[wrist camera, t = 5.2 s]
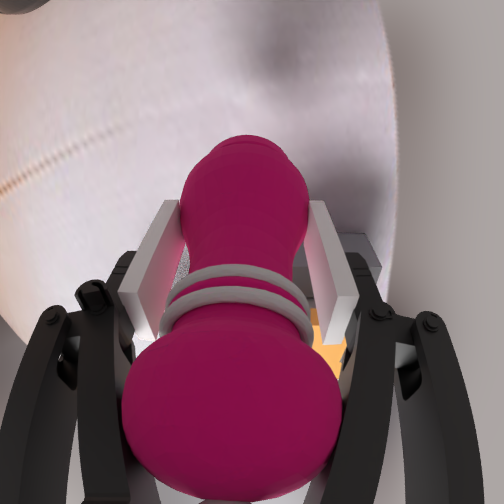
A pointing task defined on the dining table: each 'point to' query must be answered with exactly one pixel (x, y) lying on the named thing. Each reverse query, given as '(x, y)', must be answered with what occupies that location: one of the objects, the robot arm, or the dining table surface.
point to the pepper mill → (236, 342)
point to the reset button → (328, 352)
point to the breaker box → (349, 244)
